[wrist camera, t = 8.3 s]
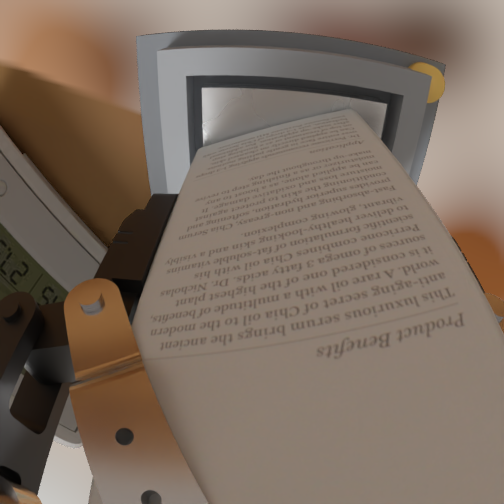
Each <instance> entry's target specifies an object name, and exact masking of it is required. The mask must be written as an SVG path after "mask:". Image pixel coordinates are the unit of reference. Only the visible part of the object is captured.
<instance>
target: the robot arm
mask: <svg viewBox="0 0 504 504" xmlns="http://www.w3.org/2000/svg"><path fill="white" fill-rule="evenodd" d="M178 195H179V194H164V193H154V194H153V195H152V197H151V199H150V200H149V202H148V204H147V206H146V208H145V210H135V211H134V212H133V213H132V214H131V215H129V216H128V217H127V218H126V219H125V220H124V221H123V223H122V225H121V227H120V228H119V230H118V234H116V236H115V237H114V239H113V243H111V245H110V247H109V249H108V251H107V252H106V254H105V256H104V258H103V260H102V262H101V264H100V266H99V268H98V270H97V272H96V274H95V276H94V278H93V279H89V280H86V281H84V282H82V283H80V284H78V285H77V286H75V287H74V288H73V289H72V290H71V291H70V292H69V294H68V295H67V297H66V299H65V301H62V302H57V303H51V304H45V305H39V306H38V305H37V303H36V301H35V300H34V298H33V296H32V295H31V294H29V293H27V292H23V291H20V292H14V293H11V294H9V295H7V296H6V297H4V298H3V299H2V300H1V301H0V504H42V503H41V501H40V499H39V498H38V496H37V494H38V490H39V486H40V483H41V479H42V475H43V472H44V468H45V465H46V461H47V458H48V455H49V451H50V448H51V445H52V442H53V439H54V436H55V433H56V430H57V427H58V424H59V421H60V418H61V415H62V412H63V409H64V407H65V404H66V401H67V398H68V396H69V393H70V398H71V403H72V407H73V411H74V415H75V419H76V423H77V427H78V430H79V434H80V438H81V441H82V444H83V447H84V451H85V454H86V457H87V460H88V463H89V466H90V469H91V472H92V475H93V478H94V481H95V483H96V486H97V489H98V491H99V494H100V497H101V499H102V502H103V504H149V502H148V501H149V498H150V496H151V495H152V494H155V493H158V494H159V495H160V496H161V499H162V502H161V504H209V502H208V501H207V499H206V497H205V495H204V493H203V492H202V490H201V488H200V486H199V484H198V482H197V480H196V479H195V477H194V475H193V473H192V471H191V469H190V467H189V465H188V463H187V461H186V459H185V457H184V455H183V453H182V451H181V449H180V447H179V445H178V442H177V440H176V438H175V436H174V434H173V432H172V430H171V427H170V425H169V423H168V421H167V418H166V416H165V414H164V411H163V409H162V407H161V404H160V402H159V400H158V397H157V395H156V392H155V390H154V387H153V385H152V382H151V380H150V377H149V375H148V372H147V369H146V367H145V364H144V361H143V359H142V356H141V353H140V350H139V348H138V345H137V342H136V339H135V336H134V333H133V330H132V327H131V325H132V322H133V319H134V315H135V312H136V309H137V306H138V303H139V300H140V297H141V294H142V291H143V288H144V285H145V282H146V279H147V276H148V273H149V270H150V267H151V265H152V262H153V259H154V256H155V254H156V251H157V248H158V246H159V243H160V241H161V238H162V235H163V232H164V230H165V228H166V225H167V222H168V220H169V217H170V215H171V212H172V210H173V207H174V205H175V202H176V200H177V197H178ZM451 237H452V236H451ZM452 239H453V240H454V242H455V243H456V245H457V247H458V248H459V250H460V251H461V249H460V247H459V246H458V244H457V242H456V241H455V239H454V238H453V237H452ZM462 255H463V257H464V258H465V260H466V262H467V259H466V257H465V256H464V254H463V253H462ZM467 264H468V266H469V267H470V269H471V271H472V273H473V274H474V276H475V278H476V280H477V282H478V284H479V286H480V287H481V289H482V291H483V293H484V295H485V297H486V298H487V300H488V302H489V304H490V306H491V308H492V310H493V312H494V314H495V317H496V319H497V321H498V323H499V325H500V327H501V329H502V331H503V334H504V301H503V300H501V299H500V298H498V297H497V296H495V295H492V294H489V293H485V292H484V290H483V288H482V286H481V284H480V282H479V281H478V279H477V277H476V275H475V273H474V271H473V270H472V268H471V266H470V264H469V263H468V262H467ZM23 368H25V369H26V372H25V374H24V377H23V379H22V381H21V384H20V386H19V388H18V391H17V393H16V395H15V398H14V400H13V403H12V405H11V408H10V409H9V401H10V397H11V395H12V392H13V390H14V388H15V385H16V383H17V381H18V379H19V376H20V374H21V372H22V370H23ZM132 439H133V441H132V443H130V444H129V445H127V444H128V442H129V441H130V440H132Z"/></svg>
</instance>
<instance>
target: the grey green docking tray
mask: <svg viewBox="0 0 504 504" xmlns="http://www.w3.org/2000/svg"><path fill="white" fill-rule="evenodd" d="M136 44H137V64H138V80H139V92H140V105H141V116H142V126H143V135H144V144H145V153H146V161H147V169H148V176H149V183H150V190H151V197H152V195H153V194H154V193H164V194H179V192H180V189H181V187H182V184H183V182H184V180H185V178H186V175H187V173H188V171H189V168H190V166H191V164H192V162H193V159H194V157H195V155H196V152H197V151H198V149H200V148H202V147H203V123H202V87H203V86H204V85H205V84H257V85H275V86H289V87H300V88H310V89H319V90H328V91H335V92H343V93H350V94H356V95H362V96H368V97H374V98H379V99H382V100H383V101H384V102H385V103H387V109H386V114H385V119H384V124H383V129H382V134H381V140H382V142H383V143H384V144H385V145H386V146H387V148H388V149H389V150H390V152H391V153H392V154H393V155H394V157H395V158H396V159H397V160H398V161H399V163H400V164H401V165H402V167H403V168H404V169H405V171H406V172H407V173H408V175H409V176H410V178H411V179H412V180H413V182H414V183H415V184H416V186H417V182H418V179H419V176H420V171H421V169H422V165H423V162H424V158H425V155H426V151H427V147H428V144H429V140H430V136H431V132H432V128H433V124H434V120H435V116H436V111H437V107H438V102H439V98H440V97H441V96H442V94H443V92H444V89H445V81H444V72H445V66H446V65H445V64H443V63H440V62H437V61H434V60H431V59H428V58H424V57H421V56H417V55H413V54H410V53H406V52H403V51H399V50H394V49H390V48H386V47H382V46H377V45H373V44H367V43H362V42H357V41H352V40H346V39H340V38H334V37H327V36H319V35H311V34H302V33H292V32H279V31H262V30H197V31H180V32H168V33H158V34H148V35H141V36H136Z"/></svg>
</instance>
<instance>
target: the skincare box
mask: <svg viewBox="0 0 504 504" xmlns="http://www.w3.org/2000/svg"><path fill="white" fill-rule="evenodd" d="M131 327H132V330H133V333H134V336H135V339H136V342H137V345H138V348H139V350H140V353H141V356H142V359H143V361H144V364H145V367H146V369H147V372H148V375H149V377H150V380H151V382H152V385H153V387H154V390H155V392H156V395H157V397H158V400H159V402H160V404H161V407H162V409H163V411H164V414H165V416H166V418H167V421H168V423H169V425H170V427H171V430H172V432H173V434H174V436H175V438H176V440H177V442H178V445H179V447H180V449H181V451H182V453H183V455H184V457H185V459H186V461H187V463H188V465H189V467H190V469H191V471H192V473H193V475H194V477H195V479H196V480H197V482H198V484H199V486H200V488H201V490H202V492H203V493H204V495H205V497H206V499H207V501H208V502H209V504H504V334H503V331H502V329H501V327H500V325H499V323H498V321H497V319H496V317H495V314H494V312H493V310H492V308H491V306H490V304H489V302H488V300H487V298H486V297H485V295H484V293H483V291H482V289H481V287H480V286H479V284H478V282H477V280H476V278H475V276H474V274H473V273H472V271H471V269H470V267H469V266H468V264H467V262H466V260H465V258H464V257H463V255H462V253H461V251H460V250H459V248H458V247H457V245H456V243H455V242H454V240H453V239H452V237H451V235H450V234H449V232H448V231H447V229H446V228H445V226H444V225H443V223H442V221H441V220H440V218H439V217H438V215H437V214H436V212H435V211H434V209H433V208H432V207H431V205H430V204H429V202H428V201H427V200H426V198H425V197H424V195H423V194H422V193H421V191H420V190H419V188H418V187H417V186H416V184H415V183H414V182H413V180H412V179H411V178H410V176H409V175H408V173H407V172H406V171H405V169H404V168H403V167H402V165H401V164H400V163H399V161H398V160H397V159H396V158H395V157H394V155H393V154H392V153H391V152H390V150H389V149H388V148H387V146H386V145H385V144H384V143H383V142H382V140H381V139H380V138H379V137H378V136H377V135H376V133H375V132H374V131H373V130H372V129H371V128H370V127H369V125H368V124H367V123H366V122H365V121H364V120H363V119H362V117H361V116H360V115H359V114H358V113H357V112H356V111H355V110H353V109H345V110H341V111H337V112H332V113H327V114H322V115H318V116H313V117H309V118H305V119H300V120H296V121H292V122H288V123H284V124H280V125H277V126H273V127H269V128H266V129H262V130H258V131H255V132H251V133H248V134H244V135H241V136H238V137H235V138H231V139H228V140H225V141H221V142H218V143H215V144H212V145H209V146H205V147H202V148H200V149H198V151H197V152H196V155H195V157H194V159H193V162H192V164H191V166H190V168H189V171H188V173H187V175H186V178H185V180H184V182H183V184H182V187H181V189H180V192H179V195H178V197H177V200H176V202H175V205H174V207H173V210H172V212H171V215H170V217H169V220H168V222H167V225H166V228H165V230H164V232H163V235H162V238H161V241H160V243H159V246H158V248H157V251H156V254H155V256H154V259H153V262H152V265H151V267H150V270H149V273H148V276H147V279H146V282H145V285H144V288H143V291H142V294H141V297H140V300H139V303H138V306H137V309H136V312H135V315H134V319H133V322H132V325H131ZM132 441H133V439H132V440H130V441H129V442H128V444H127V445H129V444H130V443H132ZM148 502H149V504H161V502H162V499H161V496H160V495H159V494H158V493H155V494H152V495H151V496H150V498H149V501H148ZM88 504H103V502H102V499H101V497H100V494H99V491H98V489H97V486H96V483H95V481H94V478H93V480H92V485H91V490H90V496H89V503H88Z"/></svg>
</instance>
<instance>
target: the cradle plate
mask: <svg viewBox="0 0 504 504" xmlns="http://www.w3.org/2000/svg"><path fill="white" fill-rule="evenodd" d="M345 109H353V110H355V111H356V112H357V113H358V114H359V115H360V116H361V117H362V119H363V120H364V121H365V122H366V123H367V124H368V125H369V127H370V128H371V129H372V130H373V131H374V132H375V133H376V135H377V136H378V137H379V138H380V139H381V134H382V129H383V124H384V119H385V114H386V109H387V103H385V102H384V101H383V100H382V99H379V98H374V97H368V96H362V95H356V94H350V93H343V92H335V91H328V90H319V89H310V88H300V87H289V86H275V85H257V84H205V85H204V86H203V87H202V123H203V147H205V146H209V145H212V144H215V143H218V142H221V141H225V140H228V139H231V138H235V137H238V136H241V135H244V134H248V133H251V132H255V131H258V130H262V129H266V128H269V127H273V126H277V125H280V124H284V123H288V122H292V121H296V120H300V119H305V118H309V117H313V116H318V115H322V114H327V113H332V112H337V111H341V110H345Z"/></svg>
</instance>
